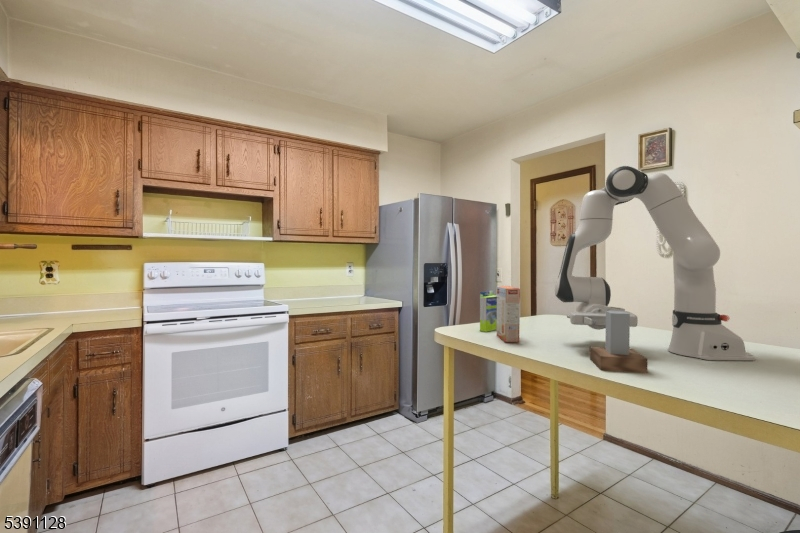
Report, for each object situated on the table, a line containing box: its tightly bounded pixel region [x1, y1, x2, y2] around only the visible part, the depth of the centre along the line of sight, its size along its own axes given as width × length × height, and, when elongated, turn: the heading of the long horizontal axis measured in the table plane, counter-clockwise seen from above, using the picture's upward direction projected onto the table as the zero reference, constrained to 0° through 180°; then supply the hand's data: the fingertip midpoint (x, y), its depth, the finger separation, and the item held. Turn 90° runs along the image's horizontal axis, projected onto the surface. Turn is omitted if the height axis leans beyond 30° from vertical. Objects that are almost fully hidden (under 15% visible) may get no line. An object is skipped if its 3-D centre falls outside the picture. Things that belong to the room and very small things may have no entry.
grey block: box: [604, 311, 631, 355], centre depth 114 cm, size 5×5×12 cm
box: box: [479, 290, 497, 333], centre depth 171 cm, size 10×4×17 cm, turn 132°
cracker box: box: [495, 285, 521, 344], centre depth 152 cm, size 14×6×21 cm, turn 179°
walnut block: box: [589, 346, 648, 374], centre depth 114 cm, size 12×12×4 cm
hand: (609, 322), depth 122 cm, fingers open, 8 cm apart
